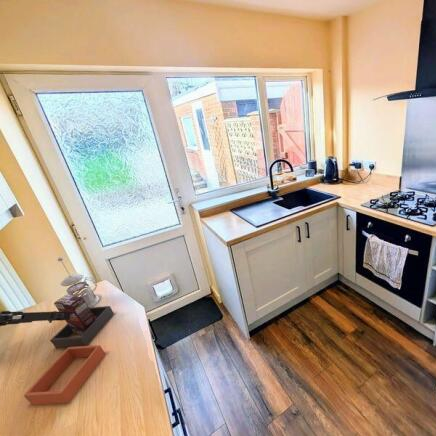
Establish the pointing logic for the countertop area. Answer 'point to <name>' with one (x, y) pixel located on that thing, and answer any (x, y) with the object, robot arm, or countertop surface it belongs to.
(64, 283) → the french press
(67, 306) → the supplement box
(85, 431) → the countertop surface
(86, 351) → the left crate
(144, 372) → the countertop surface
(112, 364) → the countertop surface
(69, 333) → the right crate
